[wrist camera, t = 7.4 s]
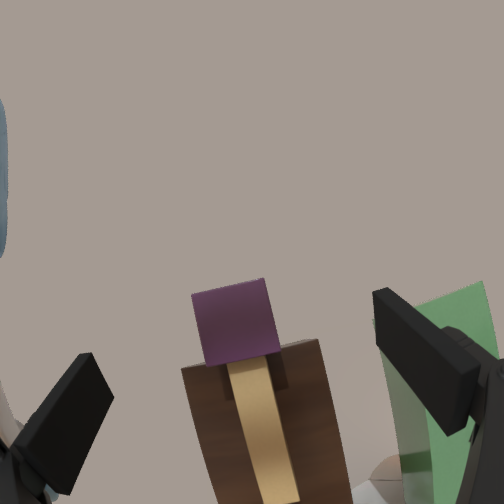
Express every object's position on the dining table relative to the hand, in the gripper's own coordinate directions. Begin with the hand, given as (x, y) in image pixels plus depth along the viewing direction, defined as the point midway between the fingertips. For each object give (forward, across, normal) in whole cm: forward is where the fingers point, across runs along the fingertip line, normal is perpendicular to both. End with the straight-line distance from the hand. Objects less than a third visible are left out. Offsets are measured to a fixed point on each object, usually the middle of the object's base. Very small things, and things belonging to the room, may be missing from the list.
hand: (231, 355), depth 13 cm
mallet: (+6, 0, -8) cm, 10 cm away
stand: (-4, 0, -35) cm, 35 cm away
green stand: (-1, +19, -37) cm, 42 cm away
